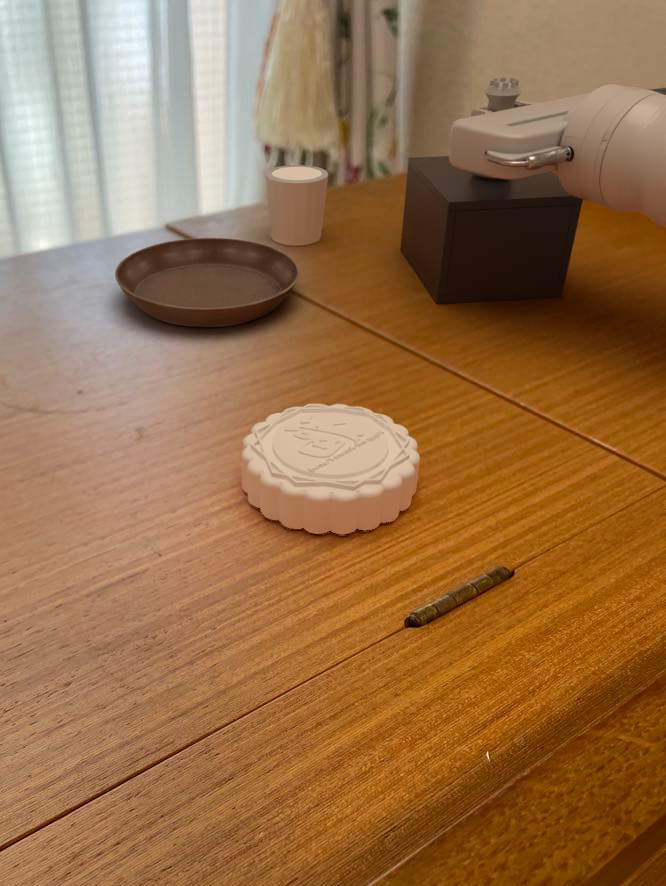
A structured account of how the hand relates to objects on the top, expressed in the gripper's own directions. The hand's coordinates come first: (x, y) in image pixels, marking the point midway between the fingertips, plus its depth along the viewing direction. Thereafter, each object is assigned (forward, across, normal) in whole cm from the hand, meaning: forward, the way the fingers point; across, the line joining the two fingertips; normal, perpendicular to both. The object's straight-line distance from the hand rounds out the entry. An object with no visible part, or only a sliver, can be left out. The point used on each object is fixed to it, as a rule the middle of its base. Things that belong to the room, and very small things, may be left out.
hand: (493, 114), depth 81 cm
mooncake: (-24, -35, -15) cm, 45 cm away
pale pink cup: (+18, -10, -15) cm, 26 cm away
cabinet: (-1, 0, -15) cm, 15 cm away
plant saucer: (+8, -27, -15) cm, 32 cm away
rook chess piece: (-1, 0, -5) cm, 5 cm away
